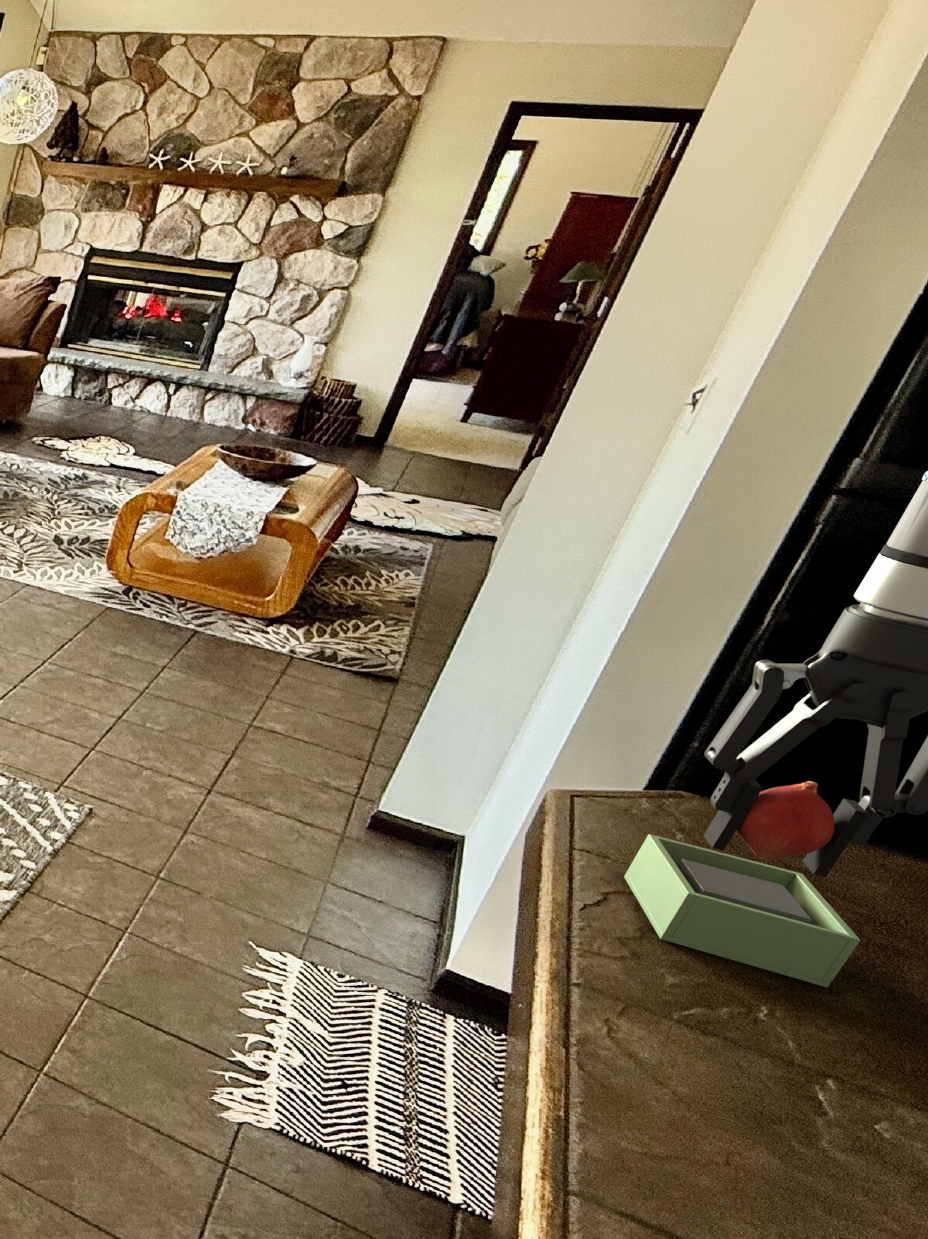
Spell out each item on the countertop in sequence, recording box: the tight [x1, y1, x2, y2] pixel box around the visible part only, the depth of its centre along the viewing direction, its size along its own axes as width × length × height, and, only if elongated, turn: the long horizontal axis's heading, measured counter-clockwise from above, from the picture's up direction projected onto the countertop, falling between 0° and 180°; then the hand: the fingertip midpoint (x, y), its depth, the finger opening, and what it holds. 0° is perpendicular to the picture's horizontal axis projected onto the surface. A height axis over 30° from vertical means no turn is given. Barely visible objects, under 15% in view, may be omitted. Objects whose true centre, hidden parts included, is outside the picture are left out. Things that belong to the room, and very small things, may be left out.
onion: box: [736, 780, 835, 861], centre depth 102 cm, size 6×6×8 cm
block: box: [677, 859, 811, 924], centre depth 106 cm, size 7×7×4 cm
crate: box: [623, 833, 861, 989], centre depth 106 cm, size 11×13×5 cm
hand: (763, 855), depth 104 cm, fingers closed on onion, 6 cm apart
